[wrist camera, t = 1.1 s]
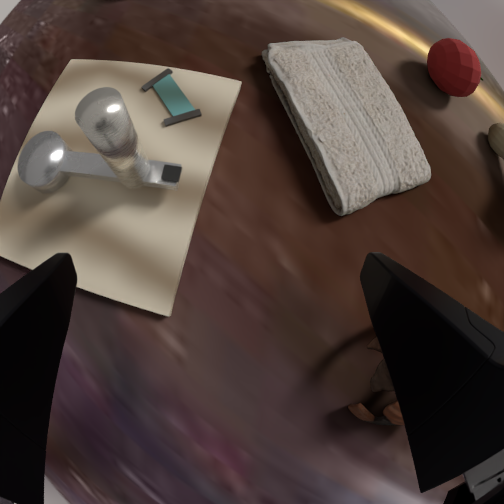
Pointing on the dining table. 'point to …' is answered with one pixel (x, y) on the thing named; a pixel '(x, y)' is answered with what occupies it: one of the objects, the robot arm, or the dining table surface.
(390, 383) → the pottery mug
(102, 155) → the crank handle
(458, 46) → the tomato
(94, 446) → the dining table surface
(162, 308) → the napkin
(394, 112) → the washcloth
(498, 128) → the decorative mushroom
